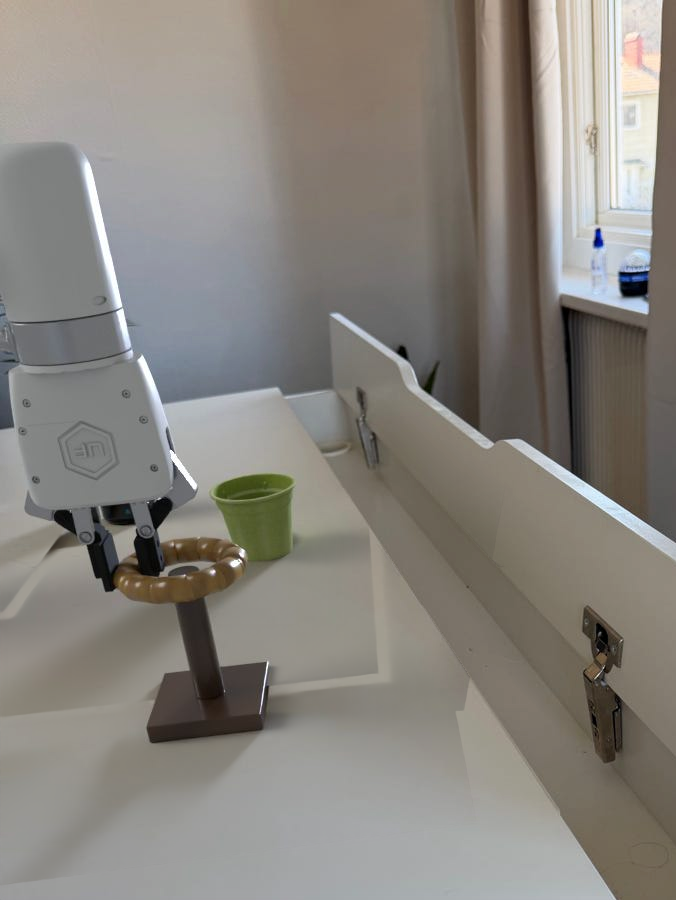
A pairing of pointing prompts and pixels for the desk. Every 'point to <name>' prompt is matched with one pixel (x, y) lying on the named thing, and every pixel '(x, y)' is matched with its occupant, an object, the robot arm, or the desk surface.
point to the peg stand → (206, 685)
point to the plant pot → (258, 513)
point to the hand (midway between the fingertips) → (133, 581)
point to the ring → (190, 585)
